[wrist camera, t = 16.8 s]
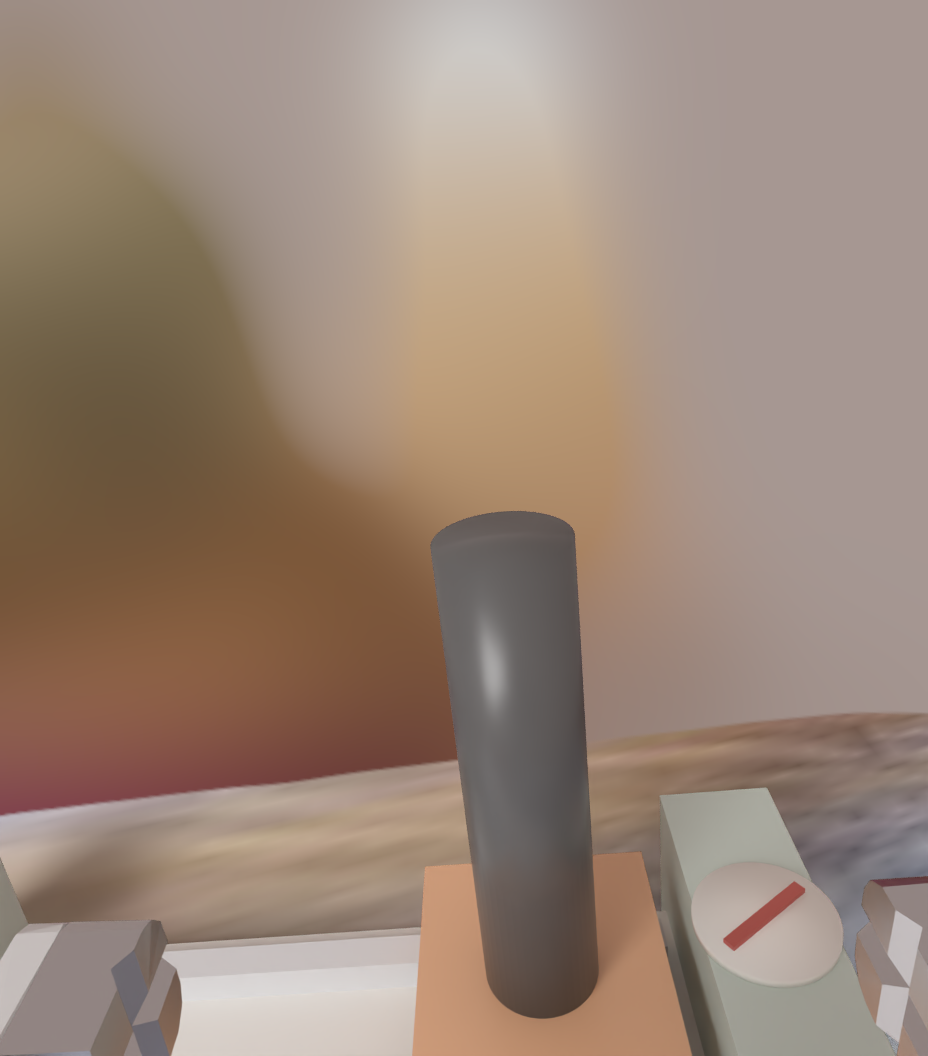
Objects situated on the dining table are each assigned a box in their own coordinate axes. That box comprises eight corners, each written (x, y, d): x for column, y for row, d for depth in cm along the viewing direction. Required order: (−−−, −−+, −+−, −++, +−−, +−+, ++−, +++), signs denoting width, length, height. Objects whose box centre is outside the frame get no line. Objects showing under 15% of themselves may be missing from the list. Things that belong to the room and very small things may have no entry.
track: (-298, 1320, 24) (-413, 1185, 22) (-56, 960, 35) (-113, 843, 33) (911, 1265, 22) (939, 1112, 20) (765, 905, 33) (772, 777, 31)
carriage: (416, 1165, 23) (311, 646, 17) (431, 906, 32) (365, 490, 25) (703, 1150, 23) (712, 612, 16) (642, 891, 31) (631, 465, 25)
